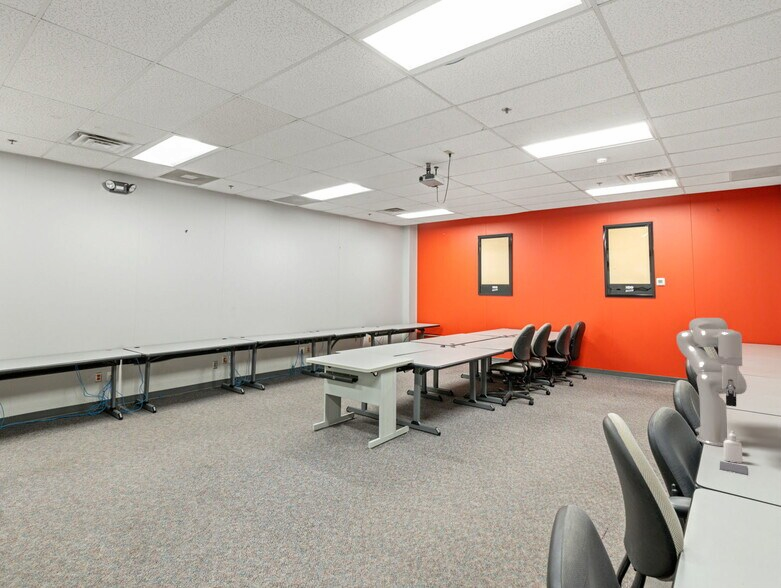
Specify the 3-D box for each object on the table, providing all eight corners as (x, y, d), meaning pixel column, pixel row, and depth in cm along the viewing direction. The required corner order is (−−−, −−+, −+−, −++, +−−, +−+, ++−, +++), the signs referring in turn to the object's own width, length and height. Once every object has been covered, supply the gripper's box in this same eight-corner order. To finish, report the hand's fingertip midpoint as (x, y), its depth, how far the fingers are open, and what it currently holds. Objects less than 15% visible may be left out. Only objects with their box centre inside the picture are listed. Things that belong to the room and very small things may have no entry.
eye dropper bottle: (741, 464, 160) (740, 434, 160) (722, 460, 164) (722, 430, 164) (743, 461, 162) (742, 431, 163) (725, 457, 167) (724, 428, 167)
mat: (720, 462, 162) (720, 461, 162) (746, 467, 157) (746, 466, 157) (719, 469, 156) (719, 468, 156) (747, 475, 150) (747, 473, 150)
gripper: (719, 357, 177) (720, 397, 176) (717, 363, 163) (718, 406, 163) (742, 359, 172) (743, 400, 172) (742, 365, 158) (743, 409, 158)
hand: (731, 403), depth 167 cm, fingers open, 8 cm apart
